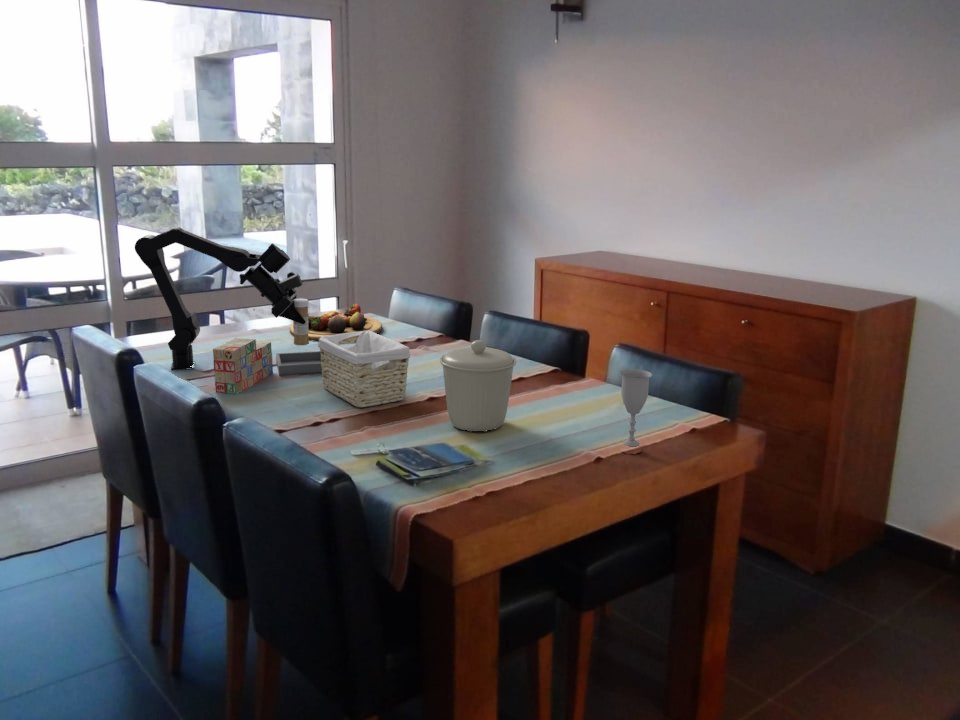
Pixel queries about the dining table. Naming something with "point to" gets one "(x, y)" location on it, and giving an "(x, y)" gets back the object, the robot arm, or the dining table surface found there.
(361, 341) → the storage basket
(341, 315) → the wooden plate with food
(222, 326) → the dining table surface
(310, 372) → the box
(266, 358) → the stack of blocks
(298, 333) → the sprinkles bottle
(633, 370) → the chalice
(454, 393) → the canister
